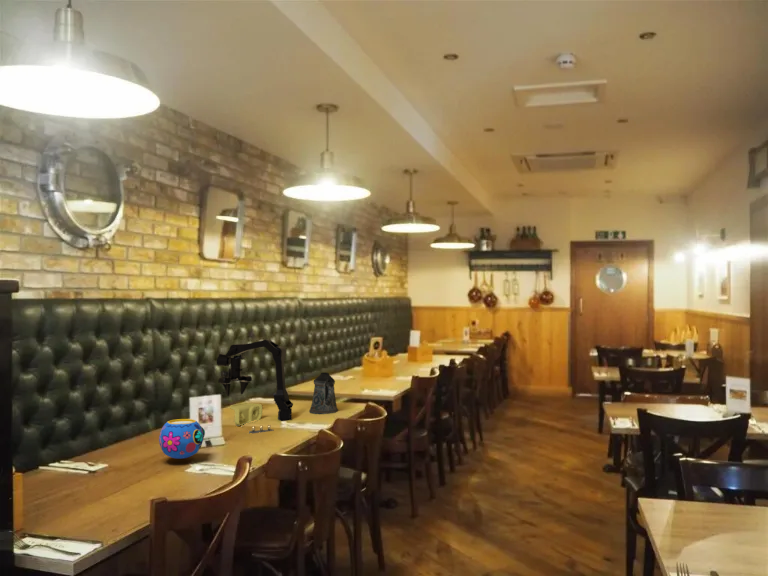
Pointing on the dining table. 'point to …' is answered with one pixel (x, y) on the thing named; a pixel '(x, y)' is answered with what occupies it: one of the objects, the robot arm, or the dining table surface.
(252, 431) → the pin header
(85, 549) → the dining table surface
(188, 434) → the ceramic pot
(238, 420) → the plastic component
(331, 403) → the beer stein
